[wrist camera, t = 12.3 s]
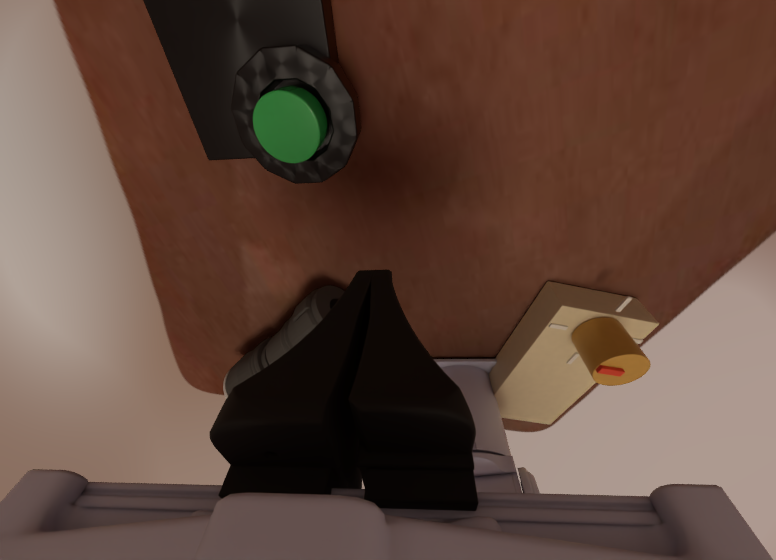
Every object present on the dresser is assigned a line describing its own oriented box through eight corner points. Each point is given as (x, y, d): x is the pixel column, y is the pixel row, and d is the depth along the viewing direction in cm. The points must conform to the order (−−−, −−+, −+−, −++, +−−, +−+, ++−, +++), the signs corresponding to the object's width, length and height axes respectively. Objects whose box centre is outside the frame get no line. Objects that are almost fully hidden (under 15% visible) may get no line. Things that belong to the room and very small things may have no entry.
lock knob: (632, 321, 23) (666, 362, 20) (602, 351, 25) (629, 392, 22) (588, 313, 23) (616, 354, 20) (562, 344, 25) (583, 385, 22)
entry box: (369, 158, 19) (362, 180, 16) (231, 165, 20) (199, 188, 17) (335, -196, 12) (309, -285, 8) (109, -166, 12) (6, -238, 9)
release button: (332, 151, 16) (325, 162, 14) (276, 154, 16) (264, 165, 15) (321, 83, 14) (311, 88, 13) (257, 87, 14) (242, 92, 13)
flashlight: (321, 268, 25) (305, 314, 21) (371, 302, 27) (365, 351, 23) (237, 353, 32) (212, 400, 28) (282, 375, 34) (265, 422, 30)
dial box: (540, 399, 35) (550, 426, 33) (474, 388, 35) (479, 415, 32) (653, 280, 24) (681, 307, 22) (560, 261, 24) (578, 287, 21)
